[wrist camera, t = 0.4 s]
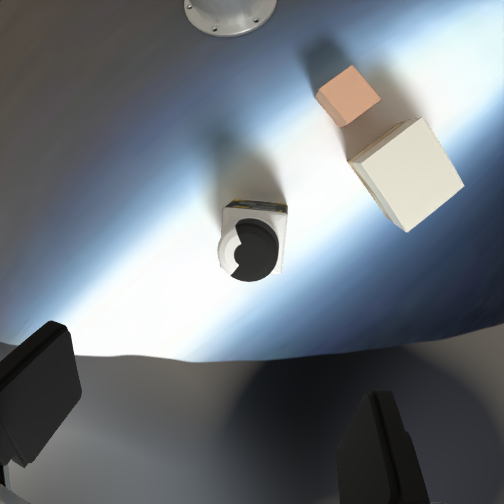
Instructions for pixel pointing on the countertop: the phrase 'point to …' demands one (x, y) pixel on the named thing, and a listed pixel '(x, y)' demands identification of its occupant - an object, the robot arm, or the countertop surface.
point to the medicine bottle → (252, 239)
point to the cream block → (409, 173)
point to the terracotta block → (346, 96)
